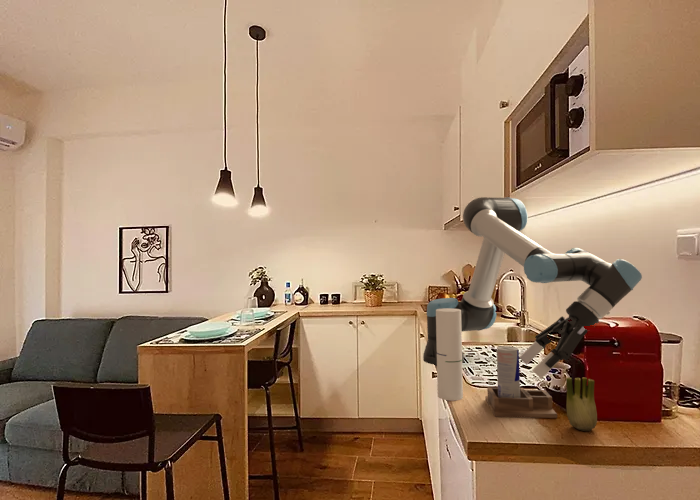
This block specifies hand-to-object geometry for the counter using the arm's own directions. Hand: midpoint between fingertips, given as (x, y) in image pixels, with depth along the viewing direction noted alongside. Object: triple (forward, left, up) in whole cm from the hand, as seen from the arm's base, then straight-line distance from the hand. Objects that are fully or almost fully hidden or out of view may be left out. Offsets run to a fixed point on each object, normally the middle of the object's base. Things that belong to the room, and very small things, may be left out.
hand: (529, 367), depth 119 cm
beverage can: (-1, -5, -10) cm, 11 cm away
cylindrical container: (-9, -20, -11) cm, 24 cm away
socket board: (0, -3, -11) cm, 11 cm away
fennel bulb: (+13, +8, -11) cm, 19 cm away
